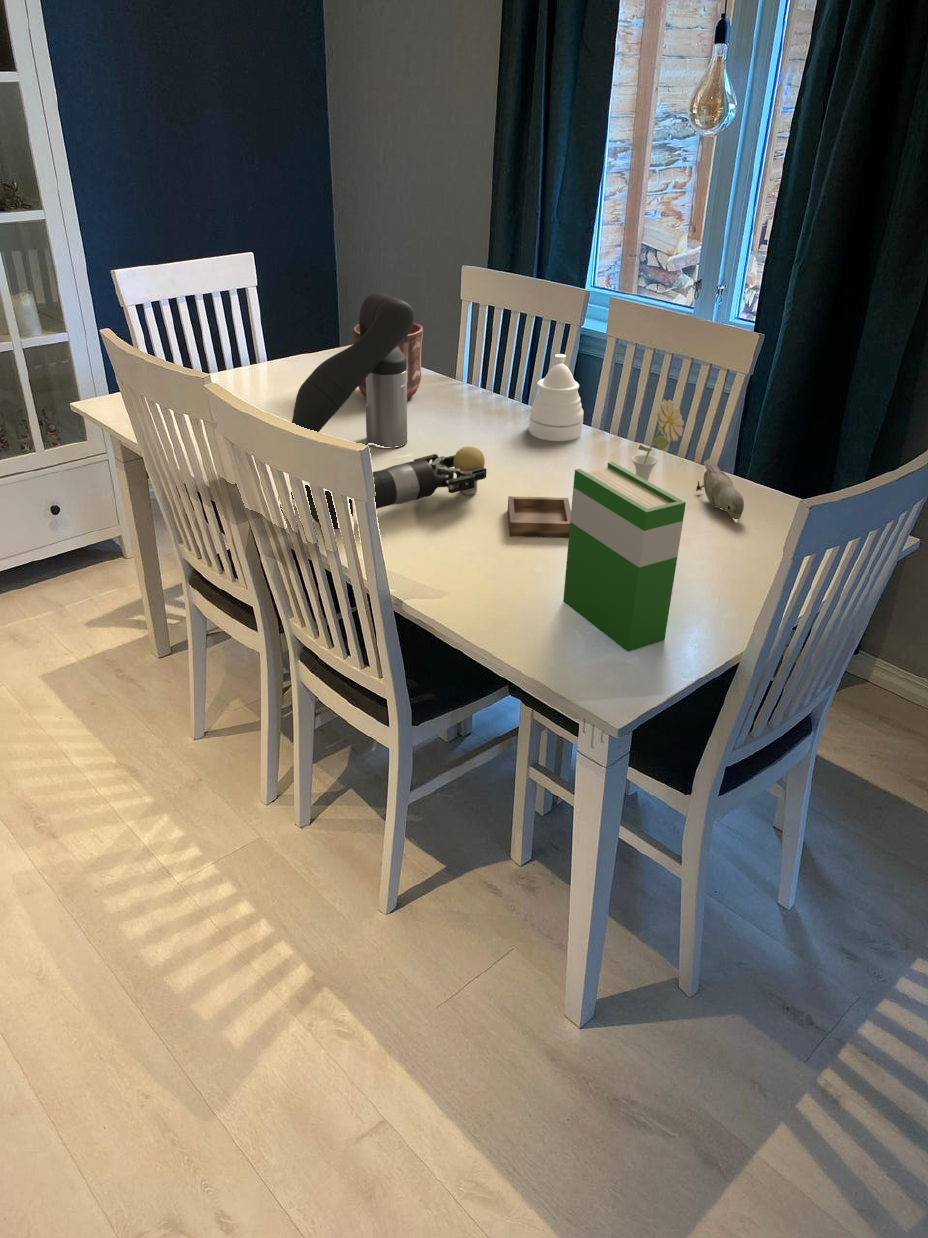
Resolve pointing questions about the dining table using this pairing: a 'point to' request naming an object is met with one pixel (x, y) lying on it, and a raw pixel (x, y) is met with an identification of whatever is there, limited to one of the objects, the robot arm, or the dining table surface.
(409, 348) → the pottery
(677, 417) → the flower in vase
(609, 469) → the hardback book
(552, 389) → the honey pot
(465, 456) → the light bulb
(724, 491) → the decorative bird
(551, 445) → the dining table surface
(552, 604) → the dining table surface
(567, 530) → the walnut tray
